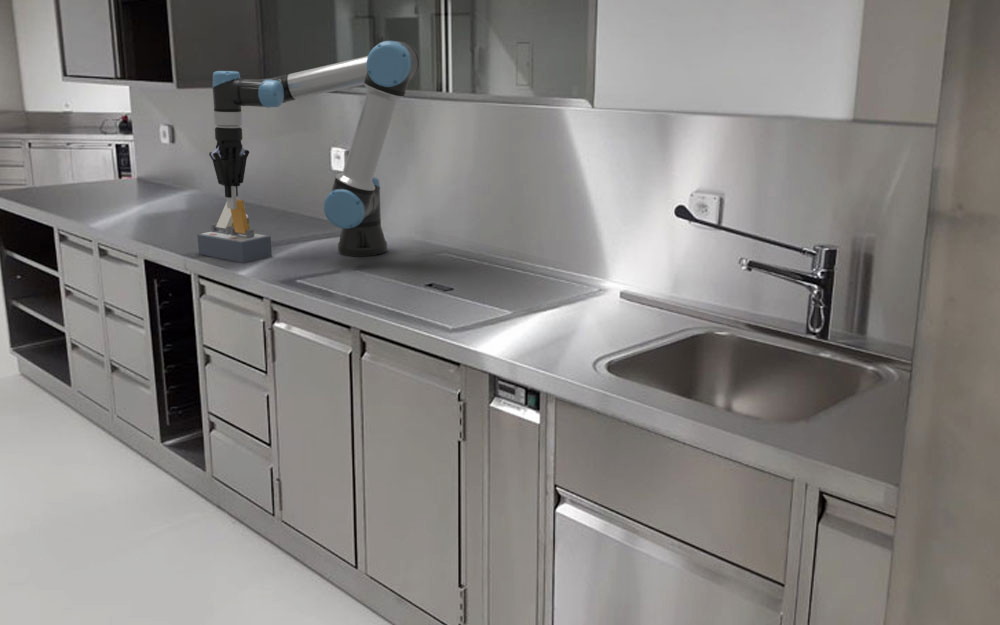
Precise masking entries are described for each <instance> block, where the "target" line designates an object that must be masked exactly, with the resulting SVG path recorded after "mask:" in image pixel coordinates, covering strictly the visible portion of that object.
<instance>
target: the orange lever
mask: <svg viewBox="0 0 1000 625" xmlns="http://www.w3.org/2000/svg"><path fill="white" fill-rule="evenodd" d="M236 200H237V201H236V202H237V209H231V214H232V219H233V224H234V229H235V230H234V233H236V234H241V235H246V230H250V226H249V227H248V222H247V217H246V214H247V212H246V207H244V206H245V204H244V199H239V198H236Z"/></svg>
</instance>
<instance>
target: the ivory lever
mask: <svg viewBox="0 0 1000 625" xmlns="http://www.w3.org/2000/svg"><path fill="white" fill-rule="evenodd" d="M232 223H233V219H232V214H231V209H230V208H227V201H226V202H225V205H224V207H223V210H222V212H221V214H220V216H219V218H218V221H217V225H216V226H215V230H219V231H224V232H226V227H228V226H232Z"/></svg>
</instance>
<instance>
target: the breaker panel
mask: <svg viewBox="0 0 1000 625" xmlns="http://www.w3.org/2000/svg"><path fill="white" fill-rule="evenodd" d="M217 223H218V222H217ZM217 223H212V224H211V225H210V228H211V231H209V232H203V233H199V234H197V243H198V244H197V245H198V246H197V247H198V255H201V256H206V257H211V258H217V259H222V260H226V261H231V262H236V263H241V264H244V263H249V262H252V261H257V260H261V259H266V258H269V257H273V251H272V239H271V238H272V236H270V235H264V234H259V233H255V231H254V229H253V228H250V229H249V230H246V235H241V234H236V233H234V230H235V229H234V227H233V226H228V227H226V232H224V231H219V230H215V226H216V225H217Z"/></svg>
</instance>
